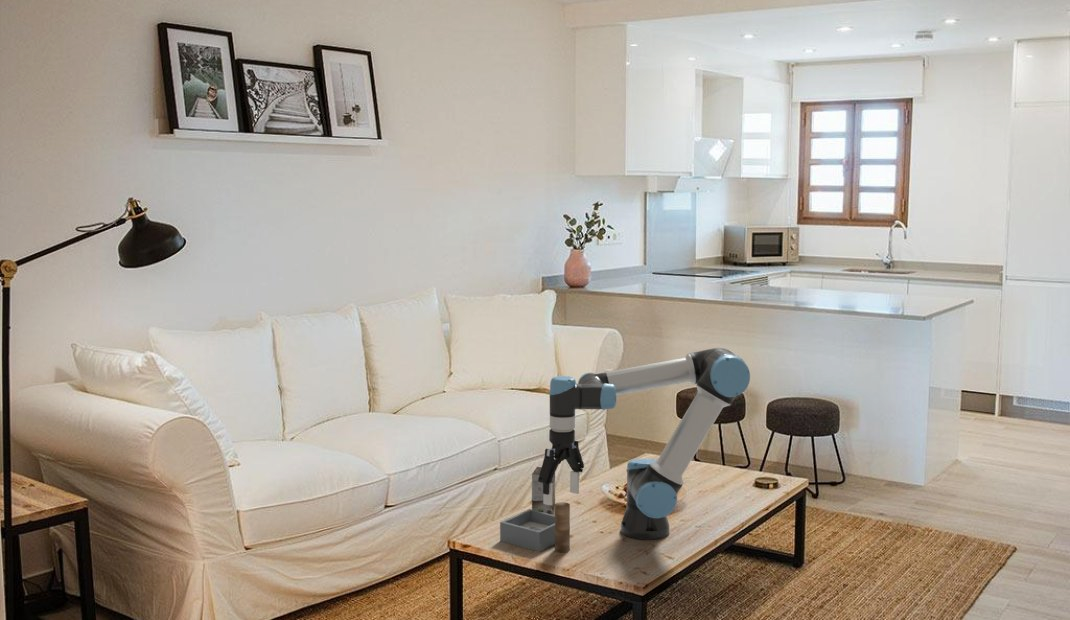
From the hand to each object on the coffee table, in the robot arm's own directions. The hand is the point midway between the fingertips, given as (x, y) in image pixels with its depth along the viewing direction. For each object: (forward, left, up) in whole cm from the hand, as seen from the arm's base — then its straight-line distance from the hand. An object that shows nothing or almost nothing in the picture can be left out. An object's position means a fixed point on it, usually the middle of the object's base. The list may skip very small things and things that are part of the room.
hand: (561, 498), depth 300 cm
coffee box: (+21, -19, -16) cm, 32 cm away
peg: (0, 0, -16) cm, 16 cm away
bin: (+12, -2, -16) cm, 20 cm away
